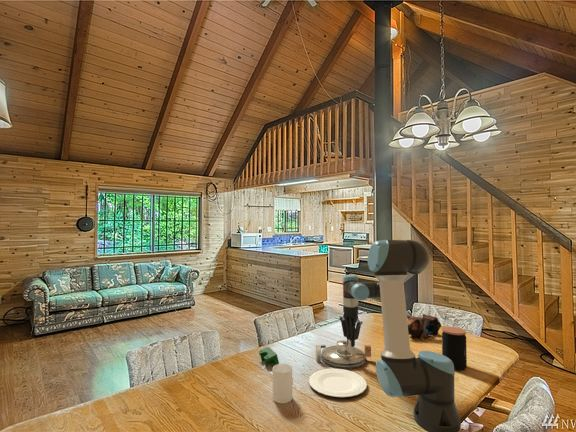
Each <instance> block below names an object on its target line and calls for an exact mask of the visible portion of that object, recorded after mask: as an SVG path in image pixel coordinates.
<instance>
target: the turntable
mask: <svg viewBox="0 0 576 432" xmlns="http://www.w3.org/2000/svg"><path fill="white" fill-rule="evenodd" d="M322 349H323V350H321V353H322V357H323V358H324V359H325V360H327V361H329V362H331V363H335V364H340V365H354V364H358V363H361V362H363V361H364V359H365V357H366V358H372V346H371V345H370V344H368V345H367V344H364V351H363V350H362V349H359V348H357V347H355V346H354V352H353V356H351V357H339V356H337V355H336V354H335V350H336V349H337V344H336V345H331V346H326V348H322Z"/></svg>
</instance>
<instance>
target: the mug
mask: <svg viewBox="0 0 576 432" xmlns="http://www.w3.org/2000/svg"><path fill="white" fill-rule="evenodd" d="M293 385H294V378H293V367H292V366H291V365H290V364H288V363H279V364H277V365H273V367H272V400H273V401H274V402H275V403H277V404H287V403H289V402H291V401H292V399H293Z"/></svg>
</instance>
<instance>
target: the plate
mask: <svg viewBox="0 0 576 432" xmlns="http://www.w3.org/2000/svg"><path fill="white" fill-rule="evenodd" d="M308 383H309V386H310V387H311V388H312V389H313V390H314V391H315V392H318V393H319V394H321V395H324V396H327V397H331V398H342V399H344V398H353V397H356V396H359V395H362V394H363V393H364V392H365V391H366V390H367V387H368V384H367V380H365V378H364V377H363V376H361V375H360V374H359V373H356V372H354V371H351V370H349V369H338V368H325V369H320V370H318V371H315V372H313V374H311V375H310V376H309V378H308Z"/></svg>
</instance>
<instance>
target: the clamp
mask: <svg viewBox="0 0 576 432" xmlns="http://www.w3.org/2000/svg"><path fill="white" fill-rule="evenodd" d="M258 356H260V360H261V362H264V364H265V366H266V367H268V366H269V365H271V364H273V366H275V365H277V364H280V362H279V356H278V354H277V352H275V351H274V350H273V349H272V348H271V347H269V346H266V347H264V348H262V349H260V350H258Z"/></svg>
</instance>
